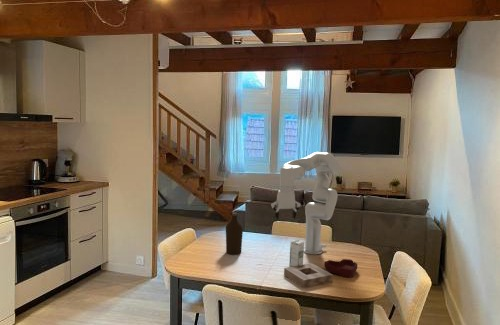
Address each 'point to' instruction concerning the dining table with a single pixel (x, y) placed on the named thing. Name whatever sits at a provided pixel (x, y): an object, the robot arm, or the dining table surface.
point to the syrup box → (296, 253)
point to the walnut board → (308, 275)
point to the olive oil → (234, 236)
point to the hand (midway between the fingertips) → (285, 218)
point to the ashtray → (341, 267)
